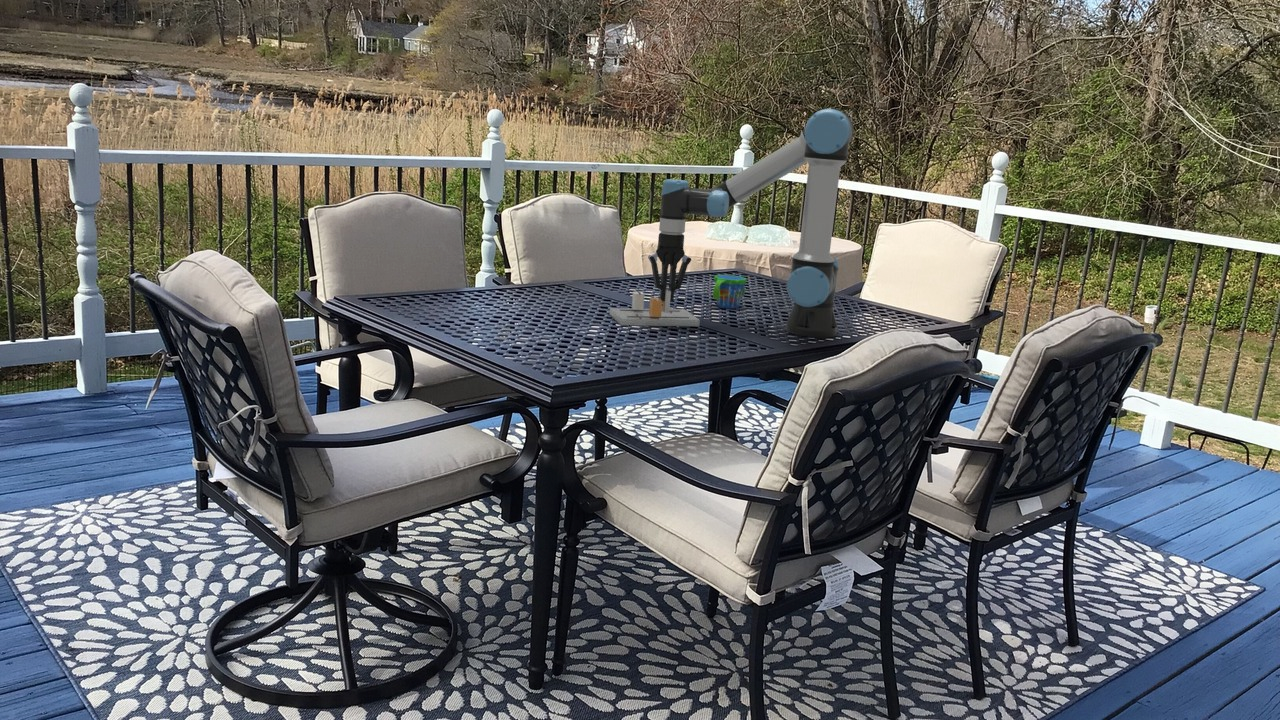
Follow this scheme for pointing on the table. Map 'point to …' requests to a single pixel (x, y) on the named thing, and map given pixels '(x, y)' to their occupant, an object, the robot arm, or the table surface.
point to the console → (644, 319)
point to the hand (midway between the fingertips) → (665, 311)
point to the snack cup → (729, 290)
